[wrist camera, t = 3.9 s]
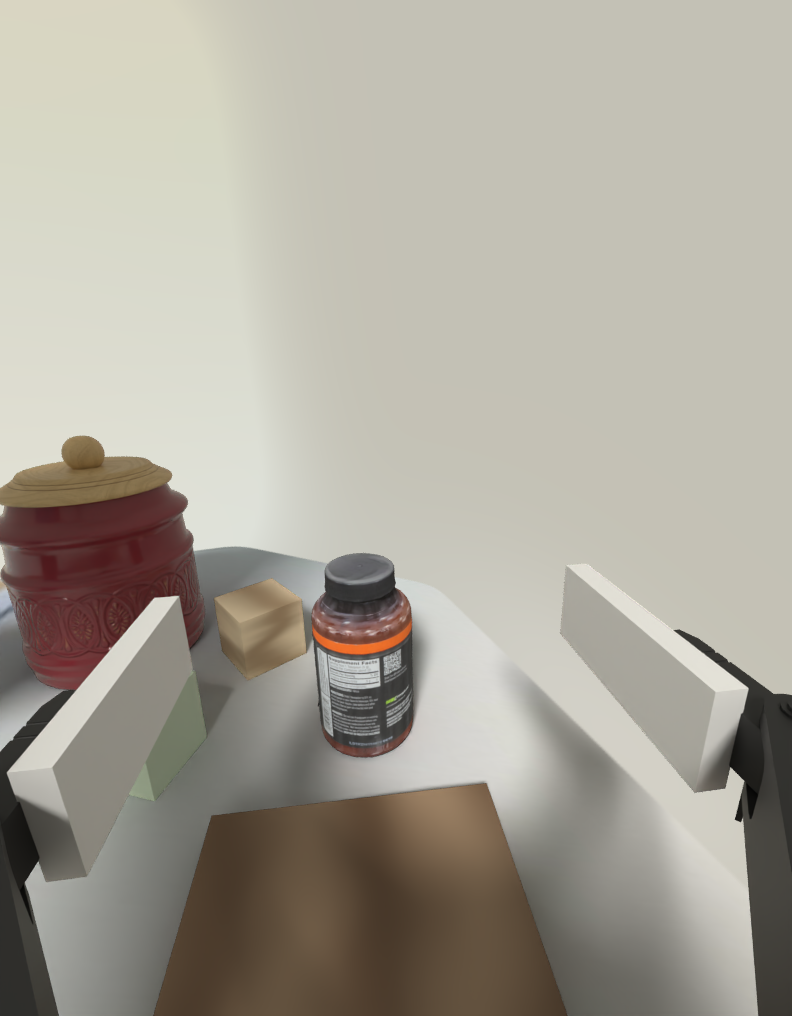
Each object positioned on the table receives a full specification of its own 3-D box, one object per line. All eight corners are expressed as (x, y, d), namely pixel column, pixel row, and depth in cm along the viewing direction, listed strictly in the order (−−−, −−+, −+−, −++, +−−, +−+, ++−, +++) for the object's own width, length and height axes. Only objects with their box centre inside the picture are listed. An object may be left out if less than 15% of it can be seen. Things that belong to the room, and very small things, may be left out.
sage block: (86, 785, 25) (65, 712, 24) (146, 725, 29) (132, 660, 28) (155, 802, 24) (137, 727, 23) (207, 737, 28) (195, 671, 27)
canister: (202, 672, 34) (162, 442, 29) (-3, 714, 30) (-92, 458, 25) (211, 595, 46) (184, 422, 41) (64, 618, 42) (14, 430, 37)
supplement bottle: (347, 684, 33) (339, 540, 29) (425, 705, 31) (426, 552, 27) (302, 746, 27) (286, 579, 24) (392, 776, 25) (388, 597, 22)
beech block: (247, 681, 33) (239, 623, 32) (222, 651, 37) (213, 597, 35) (306, 653, 36) (301, 599, 35) (277, 628, 40) (271, 578, 39)
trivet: (28, 1503, 9) (14, 1488, 9) (214, 830, 22) (211, 815, 22) (666, 1336, 11) (673, 1317, 10) (485, 797, 24) (486, 783, 24)
